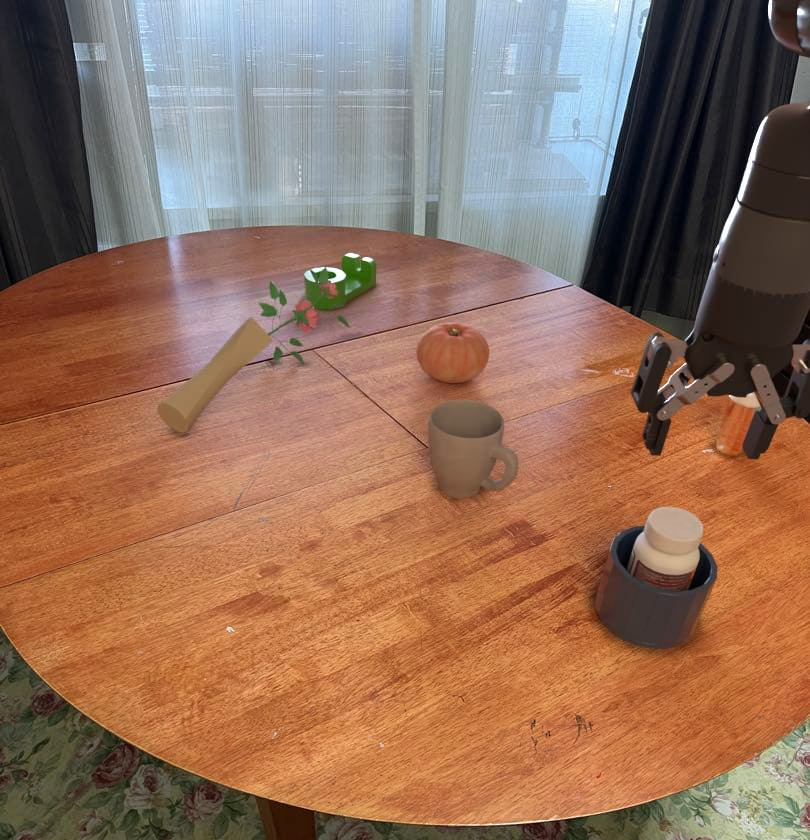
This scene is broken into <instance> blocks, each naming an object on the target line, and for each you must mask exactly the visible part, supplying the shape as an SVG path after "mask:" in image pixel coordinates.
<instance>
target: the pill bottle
mask: <svg viewBox="0 0 810 840" xmlns="http://www.w3.org/2000/svg"><path fill="white" fill-rule="evenodd" d="M644 526H645V528H644V531H643V532H642V533H641V534H640V535H639V536H638V537H637V539H636V541H635V544H634V547H633V550H632V553H631V556H630V560H629V563H628V566H627V569H626V571H627V572H628V573H629V574H630V575H632V576H633V577H635V578H636V579H638V580H639V581H641V582H642V583H645V584H648V585H650V586H653V587H655V588H658V589H663V590H670V591H686V590H688V588H689V586H690V583H691V580H692V578H693V575H694V572H695V570H696V567H697V565H698V562H699V558H700V553H699V549H698V546H699V544H700V543H701V541H702V537H703V535H704V529H705V528H704V525H703V522H702V521H701V520H700V519H699V518H698V516H696V515H695V514H694V513H692V512H690V511H688V510H685V509H683V508H680V507H675V506H661V507H657V508H655V509H653V510H652V511H651V512H650V513H649V515H648V517H647V519H646V523H645V525H644Z"/></svg>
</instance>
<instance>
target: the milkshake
mask: <svg viewBox="0 0 810 840" xmlns="http://www.w3.org/2000/svg"><path fill="white" fill-rule="evenodd" d="M760 410H761V407H760V404H759V402H758V400H757V398H756V395H755V393H754V392H753V393H751V394H748V395H747V396H746V398H744V397H734V396H731V395H728V398H727V403H726V406H725V410H724V415H723V418H722V421H721V425H720V428H719V431H718V432H719V433H718V436H717V439H716V443H715V446H716V450H717V451H719V452H720V454H724V455H726V456H737V455H739V454H741V452H742V451H743V449H742V445H743V441H744V439H745V436H746V434H747V431H748V429H749V426H750V423H751V421H752V418H753V416H754V413H755V411H760Z"/></svg>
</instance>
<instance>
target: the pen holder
mask: <svg viewBox="0 0 810 840" xmlns="http://www.w3.org/2000/svg"><path fill="white" fill-rule="evenodd" d="M644 528H645V525H634V526H631V527H628V528H626V529H624V530H621V531H620V532H619V533H618V534H617V535H616V536H615V537H614V538H613V539H612V541H611V544H610V548H609V550H608V554H607V557H606V560H605V564H604V567H603V571H602V575H601V577H600V581H599V585H598V587H597V593H596V596H595V600H594V606H595V612H596V613H597V616H598V618H599V620H600V622H601V623H602V624H603V625H604V627H606V628H607V629H608V630H609V631H610V632H611V633H612V634H614V635H615V636H616V637H618V638H620V639H621V640H623V641H625V642H627V643H630V644H632V645H635V646H638V647H642V648H647V649H655V650H658V649H660V650H661V649H670V648H674V647H677V646H679V645H682V644H683V643H685V642H686V641H687V640H689V639H690V638H691V636H692V635H693V633H694V631H695V629H696V628H697V625H698V624H699V621H700V619H701V616H702V614H703V612H704V609H705V607H706V605H707V602H708V601H709V598H710V596H711V593H712V590H713V588H714V586H715V584H716V581H717V579H718V570H719V569H718V567H719V566H718V563H717V562H716V560H715V558H714V556H713V554H712V553H711V551H709V549H707V547H705V545H704V544H702V542H700V544H699V546H698V549H699V553H700V558H699V562H698V565H697V567H696V570H695V572H694V575H693V578H692V580H691V583H690V586H689V588H688V590H686V591H670V590H663V589H658V588H655V587H653V586H650V585H648V584H645V583H642V582H641V581H639V580H638V579H636V578H635V577H633V576H632V575H630V574H629V573H628V572H627V571H626V569H627V566H628V563H629V560H630V556H631V553H632V550H633V547H634V544H635V541H636V539H637V537H638V536H639V535H640V534H641V533H642V532H643V531H644Z"/></svg>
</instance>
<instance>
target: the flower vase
mask: <svg viewBox="0 0 810 840" xmlns="http://www.w3.org/2000/svg"><path fill="white" fill-rule="evenodd" d="M324 267H325V268H324V269H323V270H322V271H321V273H320V276H319V279H318V276H317V274H316V273H315V272H314V271H312V270H310V269H309V270H310V271H311V274H312V276H313V278H314V280H315V282H316V285H317V283H318V281H319V282H320V283H321V285H319V286H320V288H319V289H320V291H321V293H322V294H323V295H322V296H321V297H320V294H319V299H318V300H317V301H316V302H315V303H314V304H313V305H311V302H309V301H306V300H305V299H303V300H301V299H299V300H298V302H297V303H295V304H294V307H295V308H293V309H291V310H290V311H291V312H292V313H293V317H292V318H290V319H288V320H287V321H285V322H283V323H282V324H280V325H279V326H278V327H276V328H274V320H275V317H276V316H277V317H278V318H279V319H278V320H281V314H282V309H283V307H285V306H286V305H287V304H288V299H287V297H286V295H285V293H284V292H283V291H282V290H281V289H279V290H278V288H277V286H276V285H275V284H274V282H273V281H272V280H269V287H268V288H269V294H270V298H271V299H273V300H274V301H273V302H274V305H275V306H274V305H271V304H269V303H266V302H258V305H259V306H260V308H261V309H262V312H261V314H259V316H260V317H265V318H271V317H273V318H272V322H271V323H272V324H271V328H272V330H271V331H270V332H269V333H267V332H266V331H265V330H264V329H263V328H262V326H261V325H260V324H259V323H258V322H257V321H256V320H255V319H254V317H252V316H250V317H249V318H247V319H246V320H245V321H244V323H242V324H241V325H240V326H239V327H238V328H236V330H235V331H234V332H233V333H232V335H231V336H230V337H229V338H228V340H226V342H225V343H224V344H223V345H222V347H221V348H220V349H218V351H217V352H216V354H215V355H213V357H212V359H211V360H209V362H208V363H207V364H206V365H205V366H203V367H202V368H201V369H200V370H199V371H197V373H195V374H194V375H193V376H192V377H190V378H189V379H188V380H187V381H186V382H185V383H183V384H182V385H181V386H180V387H178V388H177V389H176V390H175V391H174V392H173V393H171V394H170V395H168V396H167V397H166V398H165V399H164V400H162V401H160V403H158V404H157V409H156V410H157V413H158V414H159V417H160V419H161V420H162V421H163V422H164V423H165V424H166V426H168V427H169V428H172V429H173V430H174V431H176V432H179V433H182V434H184V433H186V432H188V431H189V430H190V428H191V427H192V426H193V425H194V424H195V422H196V421H197V420H198V418H199V417H200V416H201V414H202V413H203V412H204V411H205V409H206V408H207V407H208V405H209V404H210V403H211V402H212V400H213V399H214V398H215V397H216V395H218V393H219V392H220V391H221V390H222V388H223V387H225V385H226V384H227V383H228V382H229V381H230V380H231V379H232V378H233V377H234V376H235V375H237V374H238V373H239V372H240V371H241V370H243V368H245V366H247V365H248V364H249V363H250V362H251V361H252V360H254V359H255V358H256V357H257V356H258V355H259V354H260V353H261V352H263V351H264V350H265V349H266V348H267V347H269V345H271V344H272V342H274V340H273V338H274V339H276V340H277V341H278V342H279V343H280V344H279V347H278V346H275V349H274V352H273V363H274V362H276V361H279V360H280V359H281V358H282V357H283V354H284V352H283V351H282V350H281V348H280V347H281V345H282V346H283V348H284V349H285V350H286V351H287V352H288V353H290V355H292V356H293V357H294V358H295V359H297V360H298V361H299V362H300V363H301V364H303V365H305V362H304V358H303V357H302V355H301V354H300V353H299V352H298V351H296V350H294V351H289V350H288V349H287V348H286V347H285V346H284V344H283V343H286V341H285V340H282V341H281V340H279V339H278V338H276V337H275V336H274V335H273V334H274V333H276V332H277V331H279V330H281V328H283V327H285V326H287V325H288V324H291V323H293V322H294V321H295V322H294V325H295V327H298V328H299V331H302V330H303V334H305V333H312V329H311V328H313V329H316V327H317V326H318V316H319V314H318V312H321V313H324V314H326V315H329V316H330V317H331V316H332V317H335V318H337V320H338V321H339V322H340V323H342V324H343V325H344V326H345V327H347V328H349V329H351V327H350V325H349V322H348V320H347V319H346V318H345V317H344V316H343V315H342V314H339V315H337V316H336V315H332V314H329V313H328V312H331V310H334V309H339V308H342V307H345V306H346V305H345V304H344V305H343V304H333V305H332V309H328V310H321V309H317V308H314V307H313V306H314V305H315V304H316V303H317V302H318V301H319V300H320V299H321V298H322V297H323V296H324V298H325V297H329V299H331V298H333V296H332V295H336V296H337V293H338V291H337V290H335V288H337V287H336V285H335V284H334V282H333V283H331V281H330V280H328V271H327V268H326V267H327V266H326V265H325V266H324ZM317 288H318V286H317ZM319 289H318V290H319ZM277 299H278V301H279V304H280V305H281V306H282V307H281V308H280V312H279V310H278V306H277V304H276V301H277ZM310 327H311V328H310ZM272 337H273V338H272ZM282 342H283V343H282ZM288 343H289V344H290V345H292V346H294V347H299V348H300V347H304V344H303V343H302V342H301V341H300V340H299V339H297V338H296V337H295V338H294V337H290V338H289V341H288Z"/></svg>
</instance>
